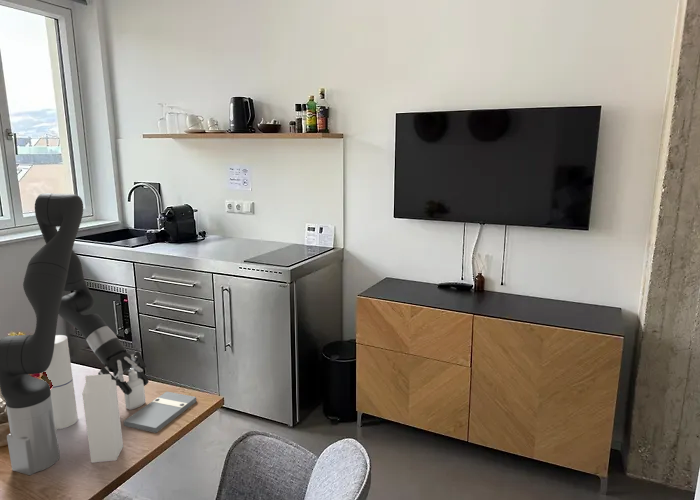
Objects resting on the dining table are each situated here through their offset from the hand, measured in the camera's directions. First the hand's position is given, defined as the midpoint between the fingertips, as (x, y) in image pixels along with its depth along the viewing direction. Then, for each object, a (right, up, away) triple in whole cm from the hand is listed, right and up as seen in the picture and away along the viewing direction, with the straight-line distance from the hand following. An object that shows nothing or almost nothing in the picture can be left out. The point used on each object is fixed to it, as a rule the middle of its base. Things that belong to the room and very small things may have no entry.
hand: (138, 388), depth 148 cm
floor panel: (+8, -7, -2) cm, 11 cm away
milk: (+2, -11, -22) cm, 24 cm away
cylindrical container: (-18, -8, -7) cm, 21 cm away
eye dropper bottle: (-2, -6, +2) cm, 7 cm away
